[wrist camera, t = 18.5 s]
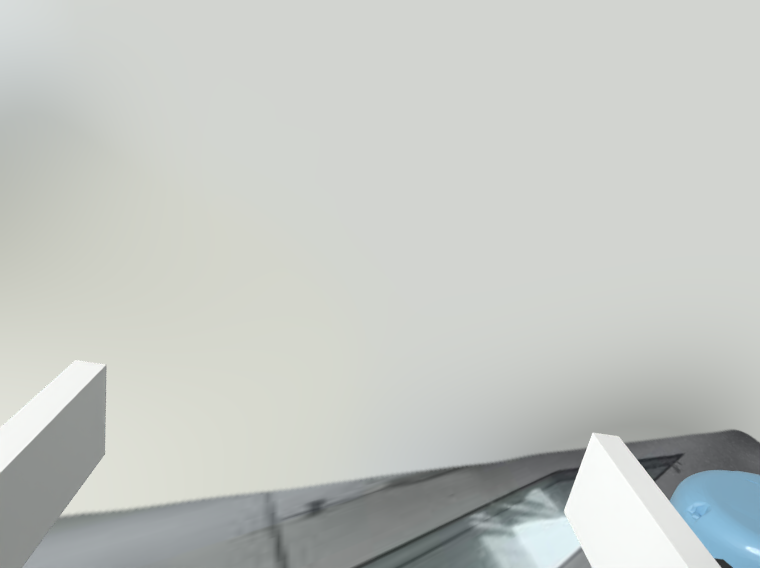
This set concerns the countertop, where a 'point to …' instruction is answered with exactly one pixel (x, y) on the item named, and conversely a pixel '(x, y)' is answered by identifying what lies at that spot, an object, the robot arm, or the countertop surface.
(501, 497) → the countertop surface
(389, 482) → the countertop surface
